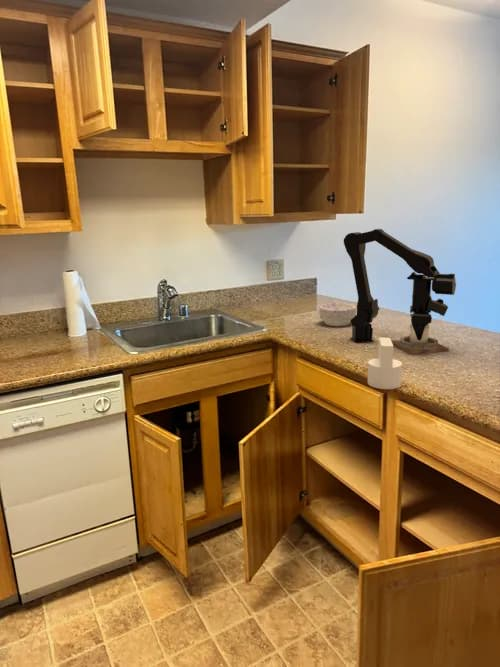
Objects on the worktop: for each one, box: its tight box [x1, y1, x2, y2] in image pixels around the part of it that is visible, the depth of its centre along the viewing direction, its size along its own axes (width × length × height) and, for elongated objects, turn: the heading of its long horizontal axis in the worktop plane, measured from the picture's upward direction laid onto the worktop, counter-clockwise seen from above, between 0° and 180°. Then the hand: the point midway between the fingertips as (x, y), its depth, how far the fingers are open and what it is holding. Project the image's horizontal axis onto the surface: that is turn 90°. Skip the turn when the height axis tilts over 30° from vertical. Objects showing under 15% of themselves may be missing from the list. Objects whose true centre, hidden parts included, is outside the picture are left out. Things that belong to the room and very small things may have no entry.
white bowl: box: [318, 302, 357, 327], centre depth 202 cm, size 15×15×8 cm
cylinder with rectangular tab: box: [367, 337, 403, 390], centre depth 131 cm, size 9×9×12 cm
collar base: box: [391, 335, 450, 355], centre depth 165 cm, size 14×14×2 cm
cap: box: [409, 323, 430, 344], centre depth 164 cm, size 6×6×7 cm
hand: (418, 337), depth 164 cm, fingers closed on cap, 6 cm apart
